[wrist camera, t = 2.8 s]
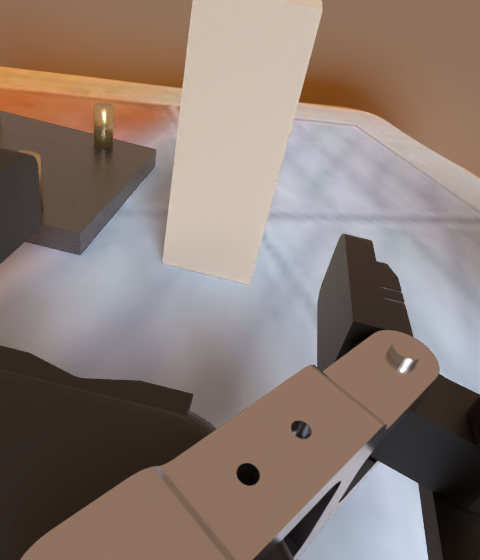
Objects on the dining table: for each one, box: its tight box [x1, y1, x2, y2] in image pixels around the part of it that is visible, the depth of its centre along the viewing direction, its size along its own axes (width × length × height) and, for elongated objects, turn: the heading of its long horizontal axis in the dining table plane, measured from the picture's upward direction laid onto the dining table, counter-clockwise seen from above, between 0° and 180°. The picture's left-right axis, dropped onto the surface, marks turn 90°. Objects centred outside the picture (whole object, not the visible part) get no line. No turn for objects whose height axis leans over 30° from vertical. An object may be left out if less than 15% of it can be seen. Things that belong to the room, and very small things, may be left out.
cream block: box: [162, 0, 323, 285], centre depth 21 cm, size 4×6×12 cm
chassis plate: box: [0, 103, 156, 255], centre depth 25 cm, size 14×12×4 cm
